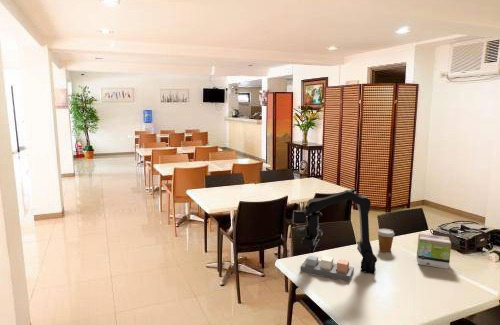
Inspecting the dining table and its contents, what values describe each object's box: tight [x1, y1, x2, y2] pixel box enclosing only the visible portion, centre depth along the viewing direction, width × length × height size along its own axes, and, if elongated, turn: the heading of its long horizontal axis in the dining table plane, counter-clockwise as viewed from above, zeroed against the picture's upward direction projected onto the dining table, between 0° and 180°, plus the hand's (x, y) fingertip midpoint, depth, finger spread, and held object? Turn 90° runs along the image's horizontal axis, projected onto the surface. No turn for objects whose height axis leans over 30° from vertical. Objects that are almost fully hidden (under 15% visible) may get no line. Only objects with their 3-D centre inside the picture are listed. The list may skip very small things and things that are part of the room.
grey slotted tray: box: [299, 259, 355, 283], centre depth 180 cm, size 25×11×3 cm, turn 64°
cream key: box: [320, 255, 334, 270], centre depth 180 cm, size 5×5×5 cm
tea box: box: [416, 233, 452, 270], centre depth 189 cm, size 15×10×15 cm
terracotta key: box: [336, 258, 350, 273], centre depth 176 cm, size 5×5×5 cm
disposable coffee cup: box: [377, 228, 395, 253], centre depth 208 cm, size 10×10×12 cm
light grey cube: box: [305, 255, 319, 267], centre depth 184 cm, size 5×5×5 cm
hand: (311, 252), depth 183 cm, fingers closed
